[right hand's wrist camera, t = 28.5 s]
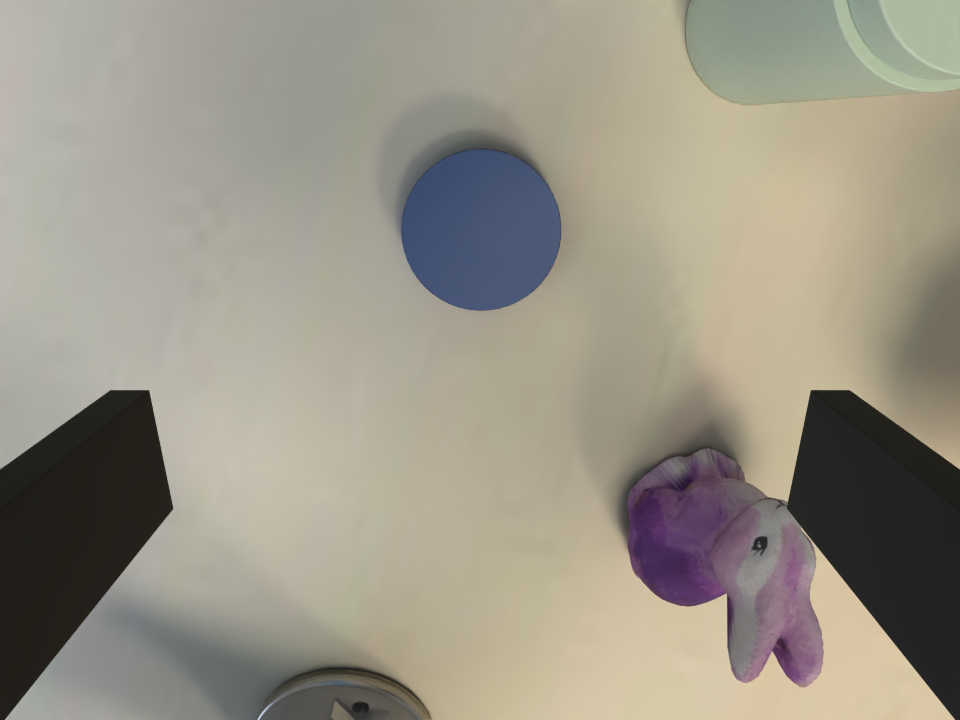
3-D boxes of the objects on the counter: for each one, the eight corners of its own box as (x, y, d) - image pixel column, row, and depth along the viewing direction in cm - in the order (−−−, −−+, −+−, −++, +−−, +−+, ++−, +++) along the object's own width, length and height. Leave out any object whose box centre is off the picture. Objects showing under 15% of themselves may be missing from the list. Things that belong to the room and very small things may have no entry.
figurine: (741, 421, 43) (868, 565, 29) (752, 541, 46) (870, 722, 32) (606, 448, 44) (665, 602, 30) (626, 565, 47) (689, 751, 33)
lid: (377, 253, 39) (372, 259, 37) (455, 116, 36) (453, 115, 34) (504, 328, 41) (505, 338, 39) (587, 203, 38) (592, 207, 36)
